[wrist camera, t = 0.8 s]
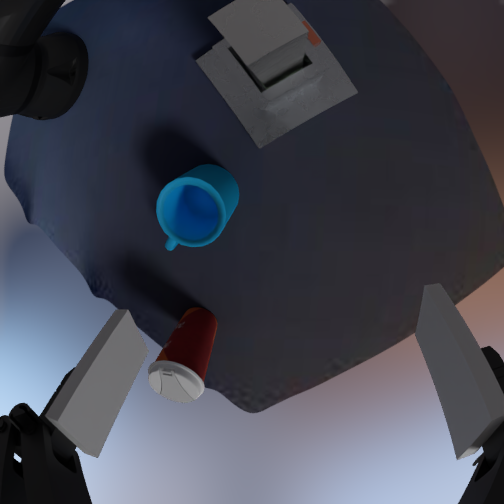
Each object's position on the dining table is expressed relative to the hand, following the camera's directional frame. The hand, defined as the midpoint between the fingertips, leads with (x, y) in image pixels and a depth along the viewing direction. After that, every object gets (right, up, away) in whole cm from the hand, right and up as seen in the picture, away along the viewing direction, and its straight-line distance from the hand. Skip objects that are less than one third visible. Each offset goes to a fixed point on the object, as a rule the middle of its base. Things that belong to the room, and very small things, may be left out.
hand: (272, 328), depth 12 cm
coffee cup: (-10, -9, +37) cm, 39 cm away
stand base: (+2, +25, +19) cm, 31 cm away
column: (+2, +24, +17) cm, 29 cm away
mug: (-8, +10, +28) cm, 30 cm away
